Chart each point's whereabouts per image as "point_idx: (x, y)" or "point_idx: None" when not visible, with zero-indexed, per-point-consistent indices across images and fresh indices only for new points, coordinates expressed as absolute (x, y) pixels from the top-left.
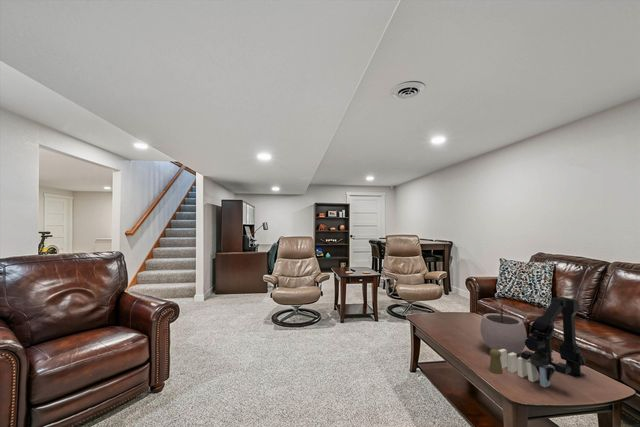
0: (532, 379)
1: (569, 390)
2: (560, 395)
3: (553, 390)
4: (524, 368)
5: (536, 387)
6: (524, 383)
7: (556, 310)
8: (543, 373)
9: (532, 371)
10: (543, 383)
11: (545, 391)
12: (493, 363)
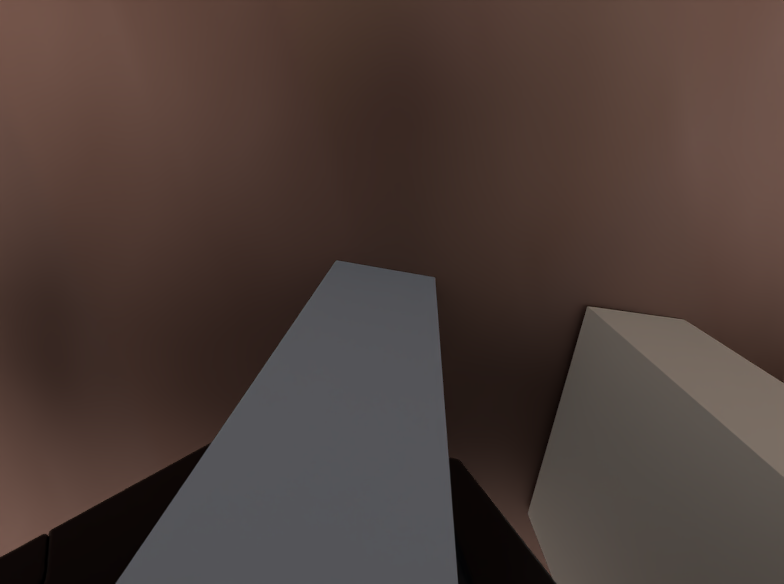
0: (623, 327)
1: (45, 523)
2: (20, 172)
3: (189, 286)
4: None
5: (468, 98)
6: (747, 52)
7: None
8: (244, 470)
9: (745, 513)
10: (350, 289)
11: (266, 71)
12: None
